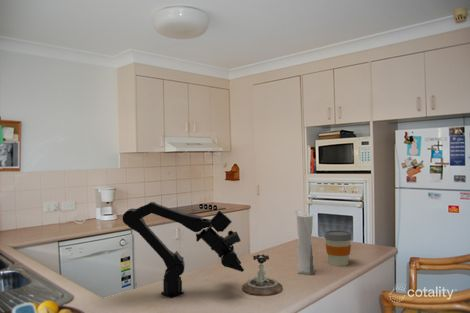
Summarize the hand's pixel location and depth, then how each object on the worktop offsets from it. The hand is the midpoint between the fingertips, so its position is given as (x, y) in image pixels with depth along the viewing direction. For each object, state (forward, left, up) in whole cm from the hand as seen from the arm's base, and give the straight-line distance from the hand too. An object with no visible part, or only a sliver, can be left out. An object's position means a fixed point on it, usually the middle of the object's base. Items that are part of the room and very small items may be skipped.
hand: (241, 267), depth 151 cm
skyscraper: (+36, -5, -9) cm, 38 cm away
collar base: (+6, -5, -9) cm, 12 cm away
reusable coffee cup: (+58, -9, -9) cm, 60 cm away
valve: (+6, -5, -8) cm, 11 cm away
